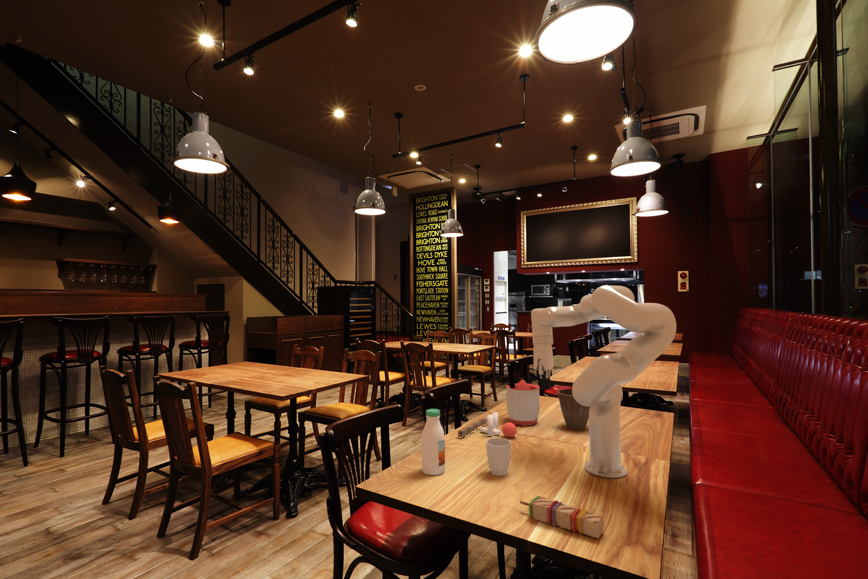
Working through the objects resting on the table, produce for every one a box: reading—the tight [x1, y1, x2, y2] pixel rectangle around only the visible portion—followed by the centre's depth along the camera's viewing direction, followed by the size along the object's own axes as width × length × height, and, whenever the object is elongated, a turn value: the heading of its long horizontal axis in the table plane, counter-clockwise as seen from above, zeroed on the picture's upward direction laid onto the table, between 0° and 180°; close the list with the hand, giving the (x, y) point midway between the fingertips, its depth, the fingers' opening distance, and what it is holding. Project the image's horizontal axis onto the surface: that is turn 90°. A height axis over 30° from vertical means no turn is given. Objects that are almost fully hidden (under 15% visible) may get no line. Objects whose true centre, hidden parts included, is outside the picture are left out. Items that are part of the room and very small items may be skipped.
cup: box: [485, 437, 512, 477], centre depth 133 cm, size 8×8×10 cm
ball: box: [501, 421, 518, 438], centre depth 170 cm, size 6×6×6 cm
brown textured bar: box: [457, 417, 487, 439], centre depth 178 cm, size 24×2×3 cm, turn 147°
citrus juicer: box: [505, 379, 541, 426], centre depth 192 cm, size 16×17×20 cm
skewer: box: [519, 495, 605, 539], centre depth 102 cm, size 21×6×5 cm, turn 51°
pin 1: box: [486, 414, 494, 437], centre depth 171 cm, size 2×2×8 cm
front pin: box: [479, 427, 502, 436], centre depth 174 cm, size 2×2×8 cm
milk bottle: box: [421, 408, 446, 476], centre depth 135 cm, size 8×8×20 cm
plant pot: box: [557, 388, 590, 432], centre depth 181 cm, size 15×15×16 cm
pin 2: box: [491, 411, 499, 430], centre depth 176 cm, size 2×2×8 cm
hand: (546, 388), depth 155 cm, fingers closed
